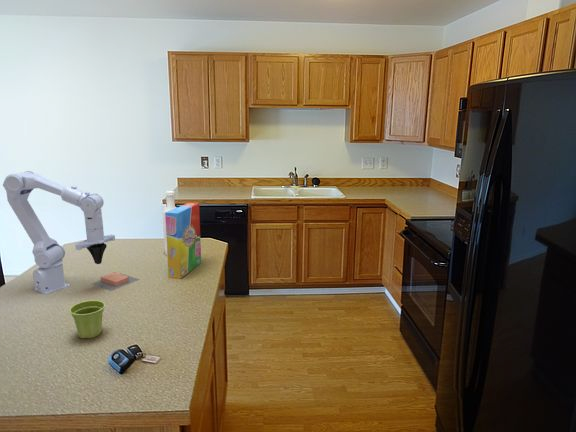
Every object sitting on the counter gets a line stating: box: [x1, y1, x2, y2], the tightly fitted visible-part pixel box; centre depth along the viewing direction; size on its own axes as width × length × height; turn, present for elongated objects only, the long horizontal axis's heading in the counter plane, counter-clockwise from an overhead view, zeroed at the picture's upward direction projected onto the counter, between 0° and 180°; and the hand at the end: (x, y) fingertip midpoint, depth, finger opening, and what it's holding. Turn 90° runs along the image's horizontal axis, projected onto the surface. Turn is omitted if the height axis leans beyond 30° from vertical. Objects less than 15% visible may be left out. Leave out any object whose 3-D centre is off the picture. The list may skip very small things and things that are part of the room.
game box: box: [165, 202, 202, 280], centre depth 168 cm, size 21×6×27 cm, turn 168°
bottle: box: [162, 190, 178, 257], centre depth 187 cm, size 8×8×30 cm
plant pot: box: [68, 299, 106, 339], centre depth 119 cm, size 9×9×9 cm
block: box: [100, 272, 129, 287], centre depth 156 cm, size 2×9×6 cm
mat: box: [91, 272, 141, 292], centre depth 157 cm, size 13×12×1 cm
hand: (98, 263), depth 149 cm, fingers closed
